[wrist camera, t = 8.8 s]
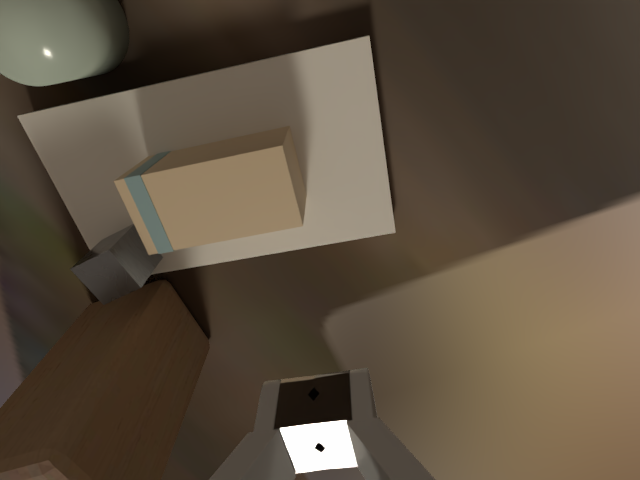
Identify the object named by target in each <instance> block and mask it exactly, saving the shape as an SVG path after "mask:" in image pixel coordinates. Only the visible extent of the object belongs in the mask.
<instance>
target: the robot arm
mask: <svg viewBox="0 0 640 480" xmlns="http://www.w3.org/2000/svg"><path fill="white" fill-rule="evenodd" d="M348 467H358V469H359V470H360V472H361V473H362V475H363V476H364V478H365V479H366V480H435V479H434V477H433V476H432V475H431V474H430V473H429V472H428V471H427V470H426V469H425V468H424V467H423V465H422V464H421V463H420V462H419V461H418V460H417V459H416V458H415V457H414V455H413V454H412V453H411V452H410V451H409V450H408V449H407V448H406V447H405V445H403V443H402V442H401V441H400V440H399V439H398V438H397V437H396V436H395V434H394V433H393V432H392V431H391V430H390V429H389V428H388V427H387V426H386V425H385V424H384V423H383V421H382V420H381V419H380V418H377V412H376V407H375V401H374V395H373V390H372V385H371V380H370V375H369V370H368V368H363V369H357V370H348V371H342V372H335V373H328V374H321V375H316V376H307V377H298V378H288V379H282V380H273V381H265V382H264V384H263V385H262V389H261V394H260V400H259V405H258V410H257V416H256V421H255V426H254V432H251V433H248V434H247V435H246V436H245V437H244V439H243V440H242V441H241V442H240V443H239V445H238V446H237V447H236V448H235V449H234V451H233V452H232V453H231V454H230V455H229V457H228V458H227V459H226V460H225V461H224V463H223V464H222V465H221V466H220V467H219V468H218V470H217V471H216V472H215V473H214V474H213V476H212V477H211V478H210V479H209V480H294V478H295V477H296V474H295V473H302V472H309V471H316V470H324V469H333V468H334V469H335V468H348Z"/></svg>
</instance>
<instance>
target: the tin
mask: <svg viewBox="0 0 640 480" xmlns="http://www.w3.org/2000/svg"><path fill="white" fill-rule="evenodd" d="M162 258H163V257H162V255H161V254H158V253H157V254H152V255H148V253H147V250H146V248H145V246H144V244H143V242H142V240H141V238H140V236H139V234H138V231H137V229H136V227H135V225H134V224H132V225H130V226H128V227H126V228H124V229H122V230H120V231H118V232H116V233H114V234H112V235H110V236H108V237H106V238H104V239H102V240H101V241H100V242H99V243H98V244H97V245H96V246H94V247H93V248H92V249H91V250H90V251H89V252H88V253H87V254H86V255H85V256H84V257H83V258H82V259H81V260H79V261H78V262H77V263H76V264H75V265H74V266H73V267H72V268H71V270H72V271H73V273H74V274H75V275H76V276H77V277H78V278H79V279H80V280H81V281H82V282H83V283H84V284H85V286H86V287H87V288H88V289H89V290H90V291H91V292H92V293H93V294H94V295H95V296H96V297H97V299H98V300H99V301H100V302H101V303H102V304H103V305H105V304H107V303H109V302H111V301H114V300H116V299H118V298H120V297H122V296H125V295H127V294H129V293H131V292H133V291H136V290H138V289H140V288H141V287H142V286H143V285H144V283H145V282H146V280H147V279H148V278H149V276H150V275H151V273H152V272H153V271H154V269H155V268H156V267H157V265H158V264H159V262H160V261H161V260H162Z"/></svg>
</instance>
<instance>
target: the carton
mask: <svg viewBox="0 0 640 480" xmlns="http://www.w3.org/2000/svg"><path fill="white" fill-rule="evenodd" d="M114 183H115V185H116V187H117V189H118V192H119V194H120V196H121V198H122V200H123V202H124V204H125V206H126V208H127V210H128V213H129V215H130V217H131V219H132V221H133V223H134V225H135V227H136V229H137V231H138V234H139V236H140V238H141V240H142V242H143V244H144V246H145V248H146V250H147V253H148V255H152V254H157V253H158V254H162V253H167V252H173V251H174V250H178V249H184V248H189V247H194V246H200V245H205V244H211V243H216V242H221V241H227V240H232V239H237V238H243V237H248V236H253V235H259V234H264V233H269V232H275V231H280V230H285V229H291V228H296V227H301V226H303V223H304V214H305V205H306V197H307V195H306V191H305V187H304V183H303V179H302V175H301V170H300V166H299V162H298V158H297V154H296V150H295V146H294V142H293V138H292V134H291V130H290V126H286V127H282V128H277V129H273V130H268V131H263V132H259V133H254V134H249V135H245V136H240V137H236V138H231V139H226V140H222V141H217V142H212V143H208V144H203V145H199V146H194V147H189V148H185V149H180V150H175V151H167V152H163V153H158V154H156V155H152V156H148V157H146V158H145V159H144V160H142V161H141V162H139V163H138V164H137V165H135V166H134V167H132V168H131V169H130V170H128V171H127V172H126V173H124V174H123V175H121V176H120V177H119V178H117V179H116V180H114Z"/></svg>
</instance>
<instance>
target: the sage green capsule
mask: <svg viewBox="0 0 640 480" xmlns="http://www.w3.org/2000/svg"><path fill="white" fill-rule="evenodd" d="M128 45H129V28H128V23H127V19H126V16H125V13H124V11H123V9H122V7H121V5H120V3H119V1H118V0H0V73H1V74H2V75H4V76H6V77H7V78H9V79H11V80H13V81H16V82H18V83H21V84H25V85H30V86H47V85H53V84H58V83H62V82H67V81H72V80H77V79H82V78H87V77H92V76H97V75H102V74H105V73H108V72H110V71H112V70H114V69H115V68H116V67H118V66H119V64H120V63H121V62H122V61H123V59H124V57H125V55H126V53H127V50H128Z"/></svg>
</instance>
